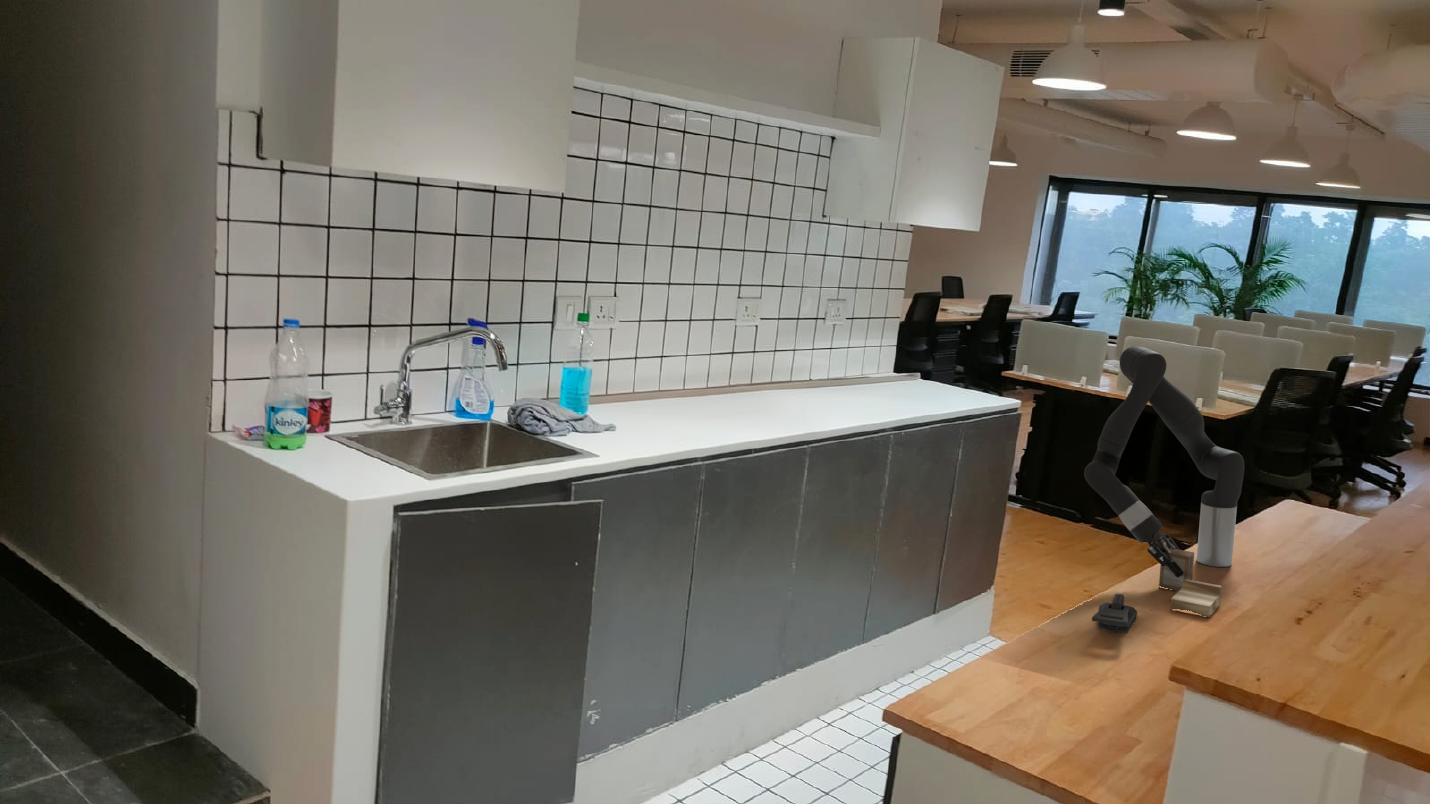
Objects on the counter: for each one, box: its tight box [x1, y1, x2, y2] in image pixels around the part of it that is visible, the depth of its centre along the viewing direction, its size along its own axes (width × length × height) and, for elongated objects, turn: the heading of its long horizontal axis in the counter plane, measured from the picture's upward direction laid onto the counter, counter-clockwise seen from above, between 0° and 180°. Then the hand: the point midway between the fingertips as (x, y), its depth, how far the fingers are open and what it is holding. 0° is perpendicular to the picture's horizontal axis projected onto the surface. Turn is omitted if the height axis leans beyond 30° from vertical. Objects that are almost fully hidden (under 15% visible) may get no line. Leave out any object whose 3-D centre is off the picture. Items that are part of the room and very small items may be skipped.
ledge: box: [1169, 579, 1223, 618], centre depth 270 cm, size 12×9×5 cm
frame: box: [1158, 548, 1195, 592], centre depth 284 cm, size 5×7×10 cm
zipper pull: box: [1091, 593, 1138, 634], centre depth 256 cm, size 9×7×25 cm
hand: (1183, 572), depth 283 cm, fingers closed on frame, 5 cm apart
